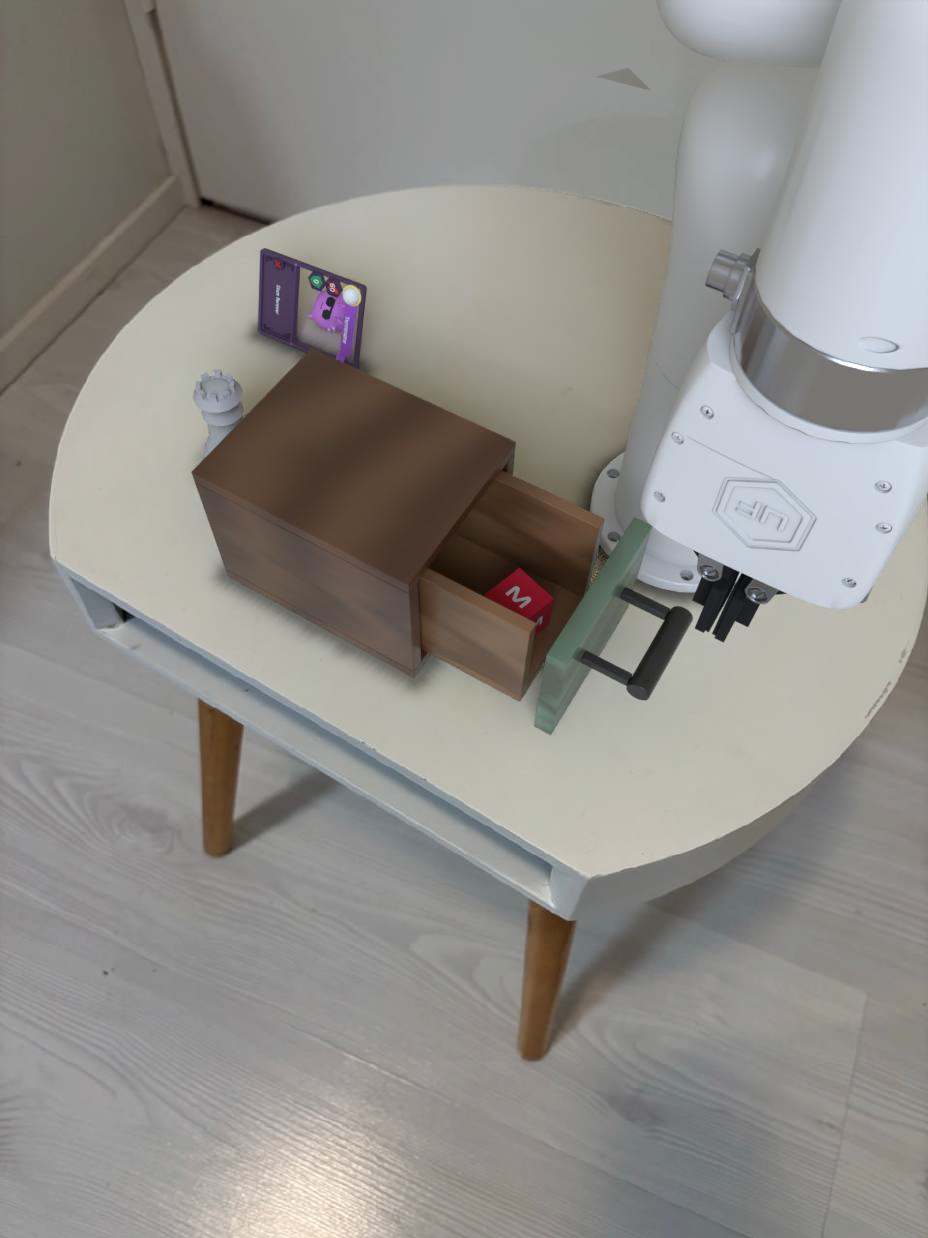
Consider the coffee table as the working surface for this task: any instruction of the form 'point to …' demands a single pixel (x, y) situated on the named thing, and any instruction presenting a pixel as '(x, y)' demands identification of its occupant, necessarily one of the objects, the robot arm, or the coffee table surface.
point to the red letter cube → (524, 598)
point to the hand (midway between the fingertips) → (720, 614)
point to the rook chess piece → (218, 405)
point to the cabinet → (346, 500)
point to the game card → (328, 307)
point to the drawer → (563, 566)
